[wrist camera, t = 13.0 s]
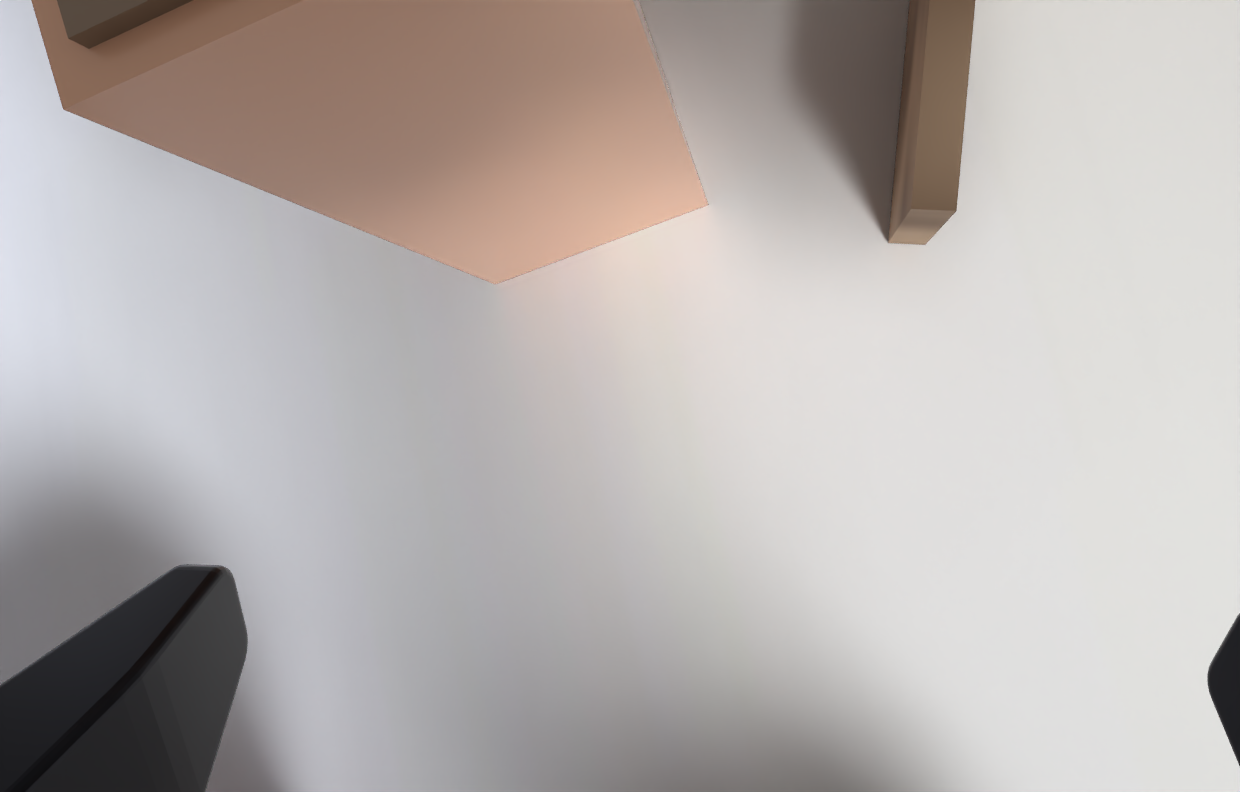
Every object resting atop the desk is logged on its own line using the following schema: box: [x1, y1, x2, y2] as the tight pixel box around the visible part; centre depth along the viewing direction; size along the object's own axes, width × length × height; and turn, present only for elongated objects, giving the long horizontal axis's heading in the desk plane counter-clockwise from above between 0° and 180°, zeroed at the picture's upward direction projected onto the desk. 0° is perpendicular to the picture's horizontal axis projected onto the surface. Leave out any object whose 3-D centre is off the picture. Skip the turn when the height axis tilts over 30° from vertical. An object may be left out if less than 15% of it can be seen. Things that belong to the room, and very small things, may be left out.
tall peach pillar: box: [32, 0, 708, 284], centre depth 14 cm, size 6×6×13 cm
